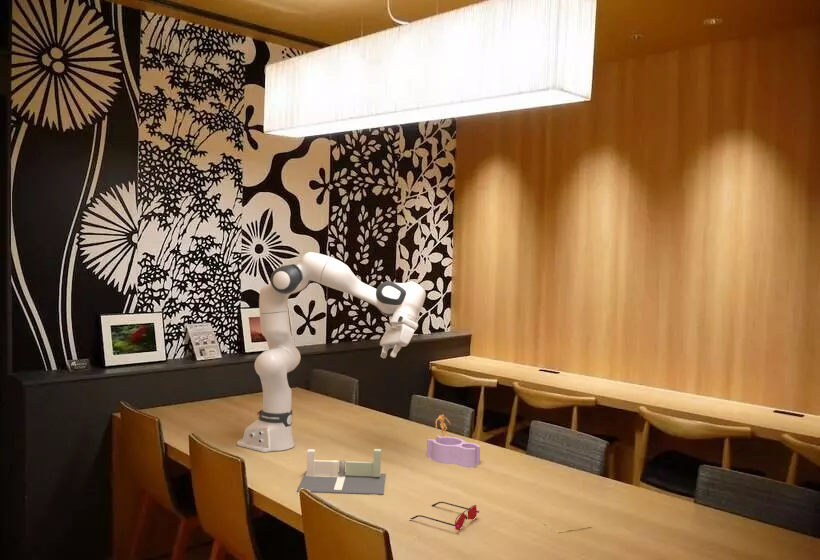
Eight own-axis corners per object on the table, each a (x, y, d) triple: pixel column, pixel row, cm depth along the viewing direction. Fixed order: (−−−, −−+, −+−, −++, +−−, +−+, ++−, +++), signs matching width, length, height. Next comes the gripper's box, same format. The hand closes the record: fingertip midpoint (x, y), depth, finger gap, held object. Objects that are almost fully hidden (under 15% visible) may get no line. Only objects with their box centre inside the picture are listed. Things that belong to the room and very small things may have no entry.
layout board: (296, 491, 217) (296, 490, 217) (305, 471, 236) (305, 470, 236) (383, 495, 217) (383, 493, 217) (385, 474, 236) (385, 473, 236)
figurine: (441, 447, 270) (442, 417, 270) (430, 443, 275) (431, 414, 274) (455, 443, 276) (456, 415, 275) (445, 440, 280) (446, 411, 280)
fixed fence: (338, 475, 233) (338, 450, 232) (337, 478, 230) (338, 452, 230) (307, 474, 233) (308, 449, 232) (306, 477, 230) (307, 451, 230)
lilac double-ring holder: (484, 462, 254) (485, 444, 254) (468, 470, 244) (469, 451, 244) (440, 451, 266) (440, 434, 265) (422, 458, 255) (423, 441, 255)
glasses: (457, 536, 189) (458, 518, 189) (408, 521, 198) (408, 504, 198) (479, 519, 201) (480, 503, 201) (431, 506, 210) (432, 490, 210)
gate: (338, 475, 230) (339, 449, 230) (339, 473, 233) (340, 447, 232) (379, 477, 230) (380, 451, 230) (380, 474, 233) (381, 449, 232)
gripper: (384, 321, 258) (370, 354, 254) (405, 317, 239) (390, 352, 235) (398, 329, 260) (384, 361, 256) (420, 325, 241) (405, 360, 237)
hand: (387, 357), depth 245 cm, fingers open, 8 cm apart
